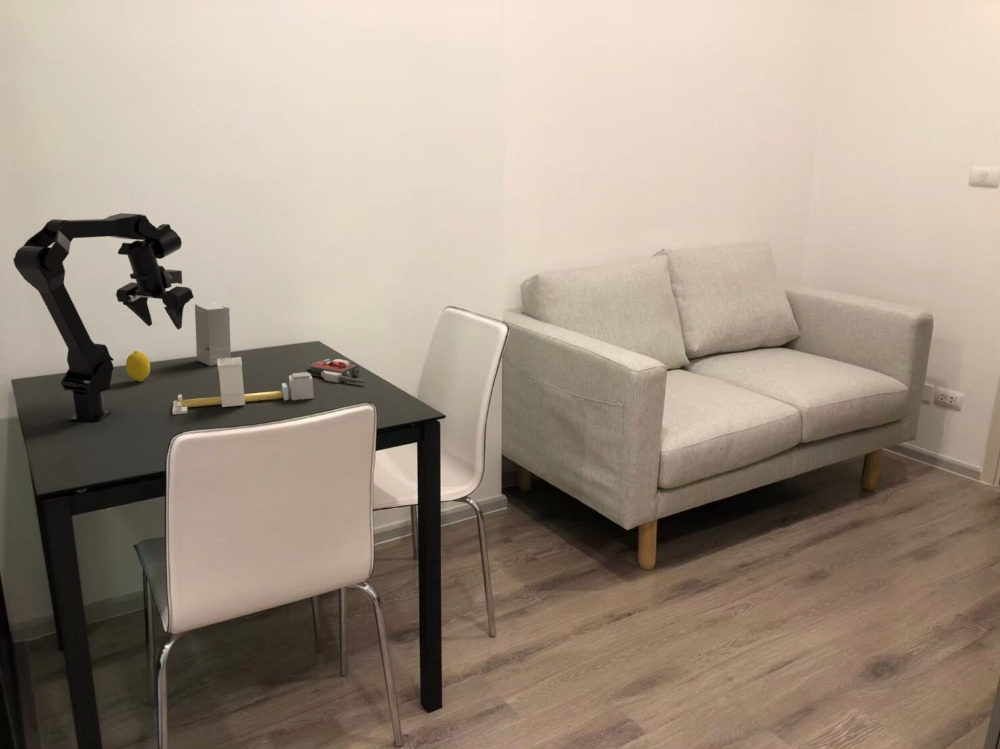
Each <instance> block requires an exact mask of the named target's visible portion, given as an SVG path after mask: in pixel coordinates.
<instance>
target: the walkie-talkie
mask: <svg viewBox="0 0 1000 749" xmlns="http://www.w3.org/2000/svg"><path fill="white" fill-rule="evenodd" d="M309 367H310V368H306V369H305V372H308V373H309V374H311V376H314V377H319V378H323V380H324V381H326V382H332V383H335V384H336V383H337V384H338V383H340V382H348V383H353V384H354V383H355V384H356V383H359V384H366V380H365V379H359V378H354V377H358V376H359V374H360V369H359V366H358V365H356V364H351V362H350V361H349V360H348V359H347V360H345V359H340V358H337V359H336V358H335V359H334V360H330V358H328V359H322V360H318V361H316V362H313V363H311V364H310V366H309Z"/></svg>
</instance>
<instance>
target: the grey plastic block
mask: <svg viewBox="0 0 1000 749" xmlns="http://www.w3.org/2000/svg"><path fill="white" fill-rule="evenodd" d="M313 381H314V380H313V377H312V375H311V373H308V372H306V371H305V372H304V371H303V372H294V373H293V372H292V374H291V375H288V383H289V386H288V385H287V382H284V383H283V382H282V383H281V391H283V396H284V399H283V401H289V400H291V401H298V400H299V399H300V400H307V399H309V400H310V399H314V398H315V397H314V386H313V385H314V384H313Z"/></svg>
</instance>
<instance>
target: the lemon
mask: <svg viewBox="0 0 1000 749" xmlns="http://www.w3.org/2000/svg"><path fill="white" fill-rule="evenodd" d="M125 369H126V373H127V374H128V376H129V377H130V378H131V379H133V380H136V381H137V382H139V383H141V382H143V380H144V379H147V377H148V376H149V375H150V372H151V363H150V360H149V358H148V356H147V355H146V354H144V353H143V352H141V351H138V350H135V351H133V352H132V353H131V354H129V355H128V357H127V358H126V361H125Z"/></svg>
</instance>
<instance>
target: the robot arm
mask: <svg viewBox="0 0 1000 749" xmlns="http://www.w3.org/2000/svg"><path fill="white" fill-rule="evenodd" d="M104 237H110V238H115V239H122V240H134V241H132V242H122V243H121V246H120V248H118V250H117V254H118V255H121V256H124V255H125V256H127V258H128V260H129V261H128V262H129V264H130V267H131V271H132V273H130V274H129V277H130V279H132V280H135V282H129V283H127V284H125V285H122V287H119V288H118V289H117V290H116V293H115V296H116V299H117V301H118V302H119V303H122V304H123V306H126V307H127V308H128V310H131V311H132V313H133V314H135V315H136V316H137V317H138V318H140V319H141V320H142V322H143V323H145V325H146V326H147V327H150V326H152V325H153V320H152V316H151V313H150V309H149V304H148V299H158V300H159V299H160V300H161V301H162V303H163V305H165V306H164V310H165V313H167V315H168V317H169V319H170V320H171V322H172V324H173V326H174V327H175V329H176V330H181V329H182V326H183V314H184V308H185V305H186V304H187V303H189V302H190V300H192V299H194V294H193V290H192V288H189V287H188V286H187V287H186V286H177V285H176V286H174V287H173V288H172V284H178V285H182V284H183V272H182V270H178V269H166V268H165V267H164V266H163V265H159V263H158V260H161V259H164V258H165V257H168V256H169V255H171V254H173V253H175V252H176V251H178V250H180V249H181V248H182V239H181V237H180V236H179V235H178V233H177V232H176V231H175V230H174V229H173V228H172V227H171V225H170V224H168V223H162V224H160V225H159V226H158V227H156V226H155V225H154V224H152V223H151V222H150V220H149V219H148V217H147V216H146V215H145V214H143V213H125V212H123V213H122V212H121V213H115V214H113V215H109V216H108V217H107V216H106V217H104V218H96V219H89V218H88V219H55V218H53V219H50V220H49V221H47V222H46V224H44V226H43V227H42V229H41V230H39V231H38V232H36V233H35V234H34V235H32V236H31V237H29V238H28V239H27V240H26V242H25V243H24V244H23V245H22V246H21V247H20V248H18V249H17V250H16V252H15V255H14V257H13V259H12V260H13V264H14V267H15V268H16V270H17V271H18V273H19V274H20V276H22V278H23V279H24V280H25V281H26V283H29V285H31V286H32V287H33V288H35V290H37V292H38V293H39V295H40V297H41V299H42V301H43V302H44V305H45V306H46V308H47V310H48V312H49V314H50V316H51V318H52V320H53V322H54V324H55V326H56V328H57V330H58V332H59V333H60V335H61V338H62V340H63V342H64V343H65V345H66V347H67V355H66V357H67V358H66V362H67V366H68V369H67V370H66V373H65V374H64V376H63V378H62V379H61V381H60V385H61V386H62V389H63V390H64V391H71V392H72V397H73V403H74V404H73V405H74V410H75V414H74V415H73V416H71V417H70V418H69V421H70V422H97V421H98V422H99V421H101V420H102V419H104V418H105V417H106V416H108V415H109V414H110V413H112V409H108V408H107V409H106V408H105V405H104V395H103V392H105V391H108V390H110V388H111V382H112V375H113V371H114V364H113V361H114V358H113V357H112V356H111V355H110V353H109V349H108V347H107V345H106V344H101V343H95V342H94V341H93V340H92V339H91V336H90V334H89V332H88V330H87V328H86V326H85V324H84V322H83V319H82V317H81V316H80V314H79V312H78V310H77V308H76V306H75V304H74V302H73V300H72V298H71V296H70V294H69V292H68V289H67V288H66V286H65V283H64V282H65V278H66V277H65V275H66V269H65V266H64V261H65V260H66V258H67V257H68V256H69V254H70V248H71V242H72V241H73V239H81V238H83V239H84V238H104ZM51 245H52V246H51ZM50 246H51V247H50ZM157 259H158V260H157ZM170 288H171V289H170ZM166 289H170V290H166ZM85 381H86V382H85Z"/></svg>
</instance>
